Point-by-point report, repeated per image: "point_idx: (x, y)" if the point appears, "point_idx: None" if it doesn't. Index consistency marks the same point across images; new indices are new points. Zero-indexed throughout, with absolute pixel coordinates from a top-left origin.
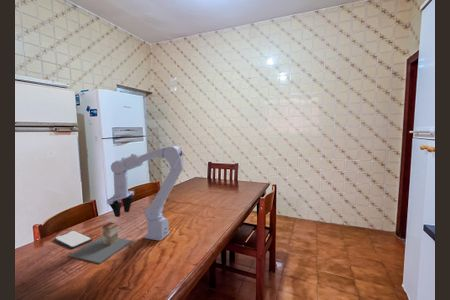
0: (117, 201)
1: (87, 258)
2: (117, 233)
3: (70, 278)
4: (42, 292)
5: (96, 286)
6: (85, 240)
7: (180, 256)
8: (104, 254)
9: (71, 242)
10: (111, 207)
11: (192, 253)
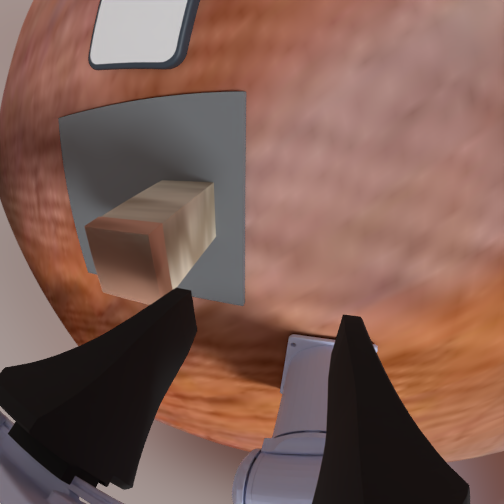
0: (84, 480)
1: (75, 211)
2: (195, 260)
3: (38, 236)
4: (10, 217)
5: (64, 309)
6: (144, 53)
7: (221, 425)
8: None
9: (111, 15)
10: (67, 353)
11: (242, 438)
